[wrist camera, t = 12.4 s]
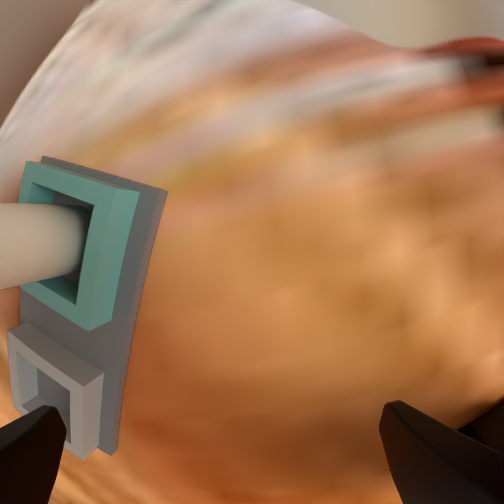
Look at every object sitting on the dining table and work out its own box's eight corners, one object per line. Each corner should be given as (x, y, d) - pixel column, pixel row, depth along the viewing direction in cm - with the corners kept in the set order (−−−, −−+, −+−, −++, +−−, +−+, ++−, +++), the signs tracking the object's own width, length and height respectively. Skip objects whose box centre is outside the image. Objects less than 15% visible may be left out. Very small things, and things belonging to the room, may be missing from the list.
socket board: (116, 449, 22) (96, 472, 18) (28, 389, 23) (5, 402, 20) (168, 191, 18) (138, 186, 15) (51, 157, 20) (18, 151, 17)
